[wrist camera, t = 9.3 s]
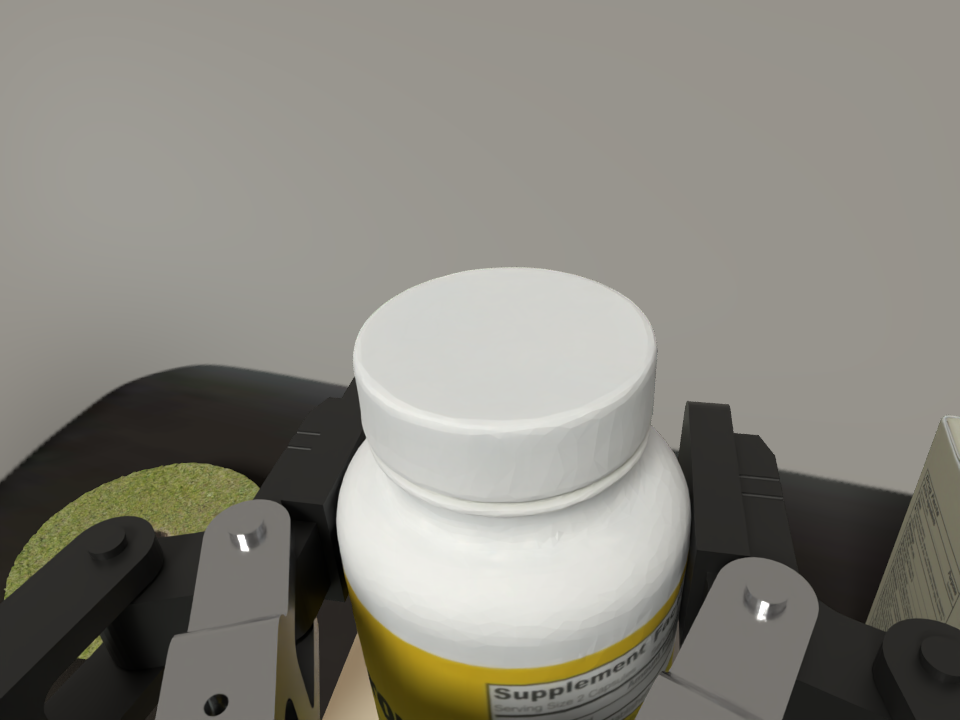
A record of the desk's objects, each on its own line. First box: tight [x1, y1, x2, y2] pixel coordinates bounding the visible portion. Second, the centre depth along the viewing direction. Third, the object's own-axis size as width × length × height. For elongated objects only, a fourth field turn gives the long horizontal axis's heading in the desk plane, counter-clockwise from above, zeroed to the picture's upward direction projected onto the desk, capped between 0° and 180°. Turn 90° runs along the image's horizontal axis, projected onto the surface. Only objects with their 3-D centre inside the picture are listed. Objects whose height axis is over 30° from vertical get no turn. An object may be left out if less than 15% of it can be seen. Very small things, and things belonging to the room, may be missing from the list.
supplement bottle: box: [336, 267, 691, 720], centre depth 12 cm, size 5×5×10 cm
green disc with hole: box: [4, 463, 260, 659], centre depth 33 cm, size 11×11×2 cm
